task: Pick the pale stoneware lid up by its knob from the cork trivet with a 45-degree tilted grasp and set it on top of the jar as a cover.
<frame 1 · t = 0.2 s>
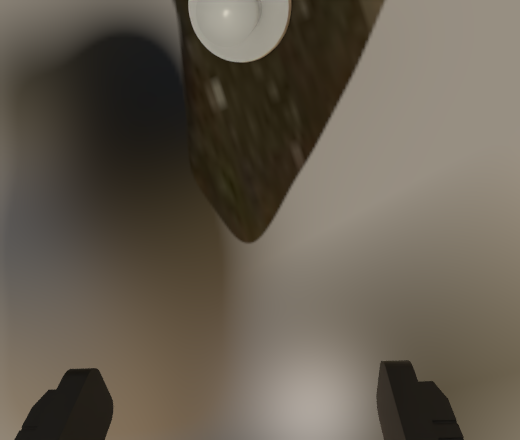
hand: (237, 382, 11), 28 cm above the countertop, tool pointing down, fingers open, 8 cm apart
lid: (239, 8, 31), resting on trivet
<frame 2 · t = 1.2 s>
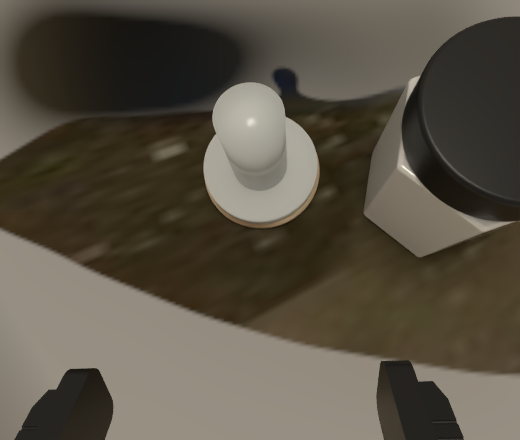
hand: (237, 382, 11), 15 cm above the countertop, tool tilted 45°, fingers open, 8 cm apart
jar: (424, 193, 27), on the countertop
trivet: (261, 173, 28), on the countertop
lid: (261, 170, 28), resting on trivet
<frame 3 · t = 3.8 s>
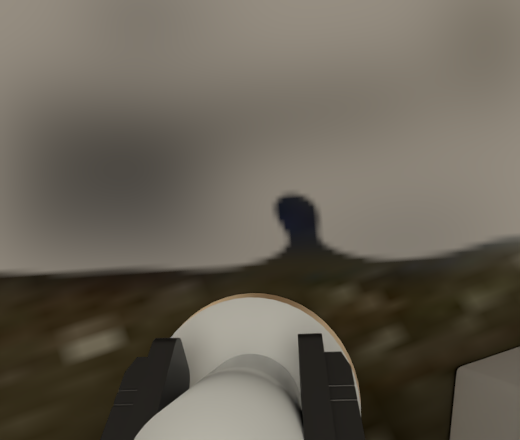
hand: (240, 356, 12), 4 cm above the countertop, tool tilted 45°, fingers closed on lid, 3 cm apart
trivet: (255, 397, 16), on the countertop
lid: (254, 399, 15), resting on trivet, touching gripper
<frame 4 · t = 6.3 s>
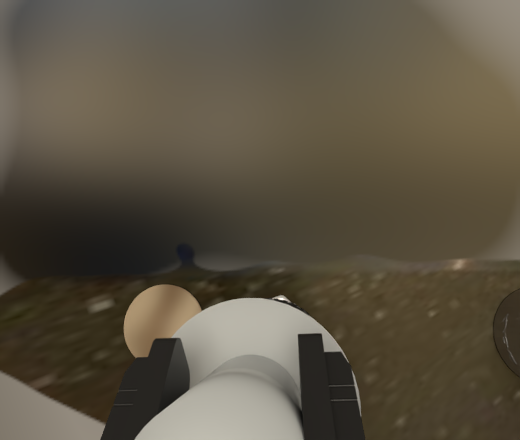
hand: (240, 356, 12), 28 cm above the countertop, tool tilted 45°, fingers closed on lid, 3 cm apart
trivet: (164, 325, 40), on the countertop
lid: (254, 400, 15), point 24 cm above the countertop, touching gripper
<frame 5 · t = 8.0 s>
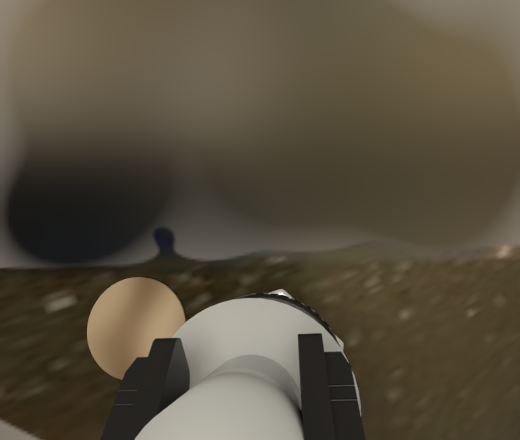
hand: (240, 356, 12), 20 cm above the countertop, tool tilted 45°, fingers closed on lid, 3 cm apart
jar: (274, 351, 31), on the countertop
trivet: (137, 327, 32), on the countertop
lid: (253, 400, 15), point 16 cm above the countertop, touching gripper
when the fingers open (17 cm above the countertop, at t = 9.1 s): lid drops 2 cm, resting on jar.
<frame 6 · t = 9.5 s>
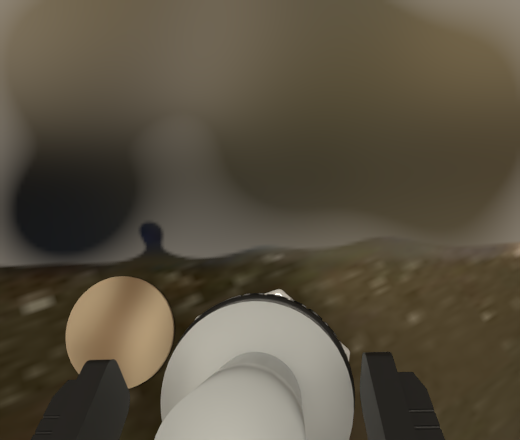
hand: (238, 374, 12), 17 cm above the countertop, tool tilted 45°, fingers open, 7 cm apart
jar: (271, 357, 29), on the countertop, touching lid
trivet: (121, 331, 30), on the countertop
lid: (257, 393, 17), point 12 cm above the countertop, touching jar
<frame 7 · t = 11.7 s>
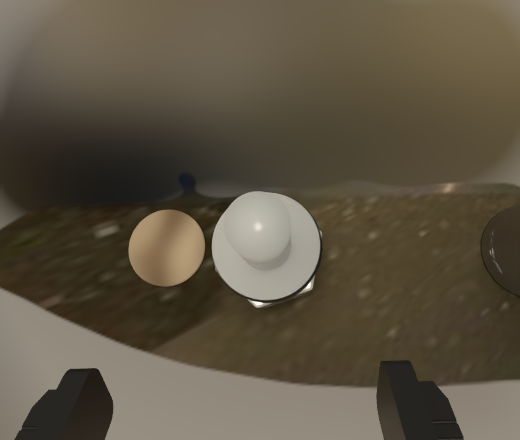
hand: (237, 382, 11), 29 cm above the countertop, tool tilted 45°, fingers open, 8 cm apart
jar: (273, 264, 41), on the countertop, touching lid
trivet: (167, 247, 42), on the countertop
lid: (266, 247, 29), point 12 cm above the countertop, touching jar
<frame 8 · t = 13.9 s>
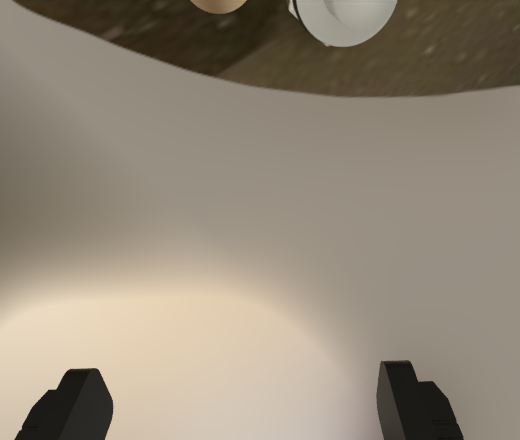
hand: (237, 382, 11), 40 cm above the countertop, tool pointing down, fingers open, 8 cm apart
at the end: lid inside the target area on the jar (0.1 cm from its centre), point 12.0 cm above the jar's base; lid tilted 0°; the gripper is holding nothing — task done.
